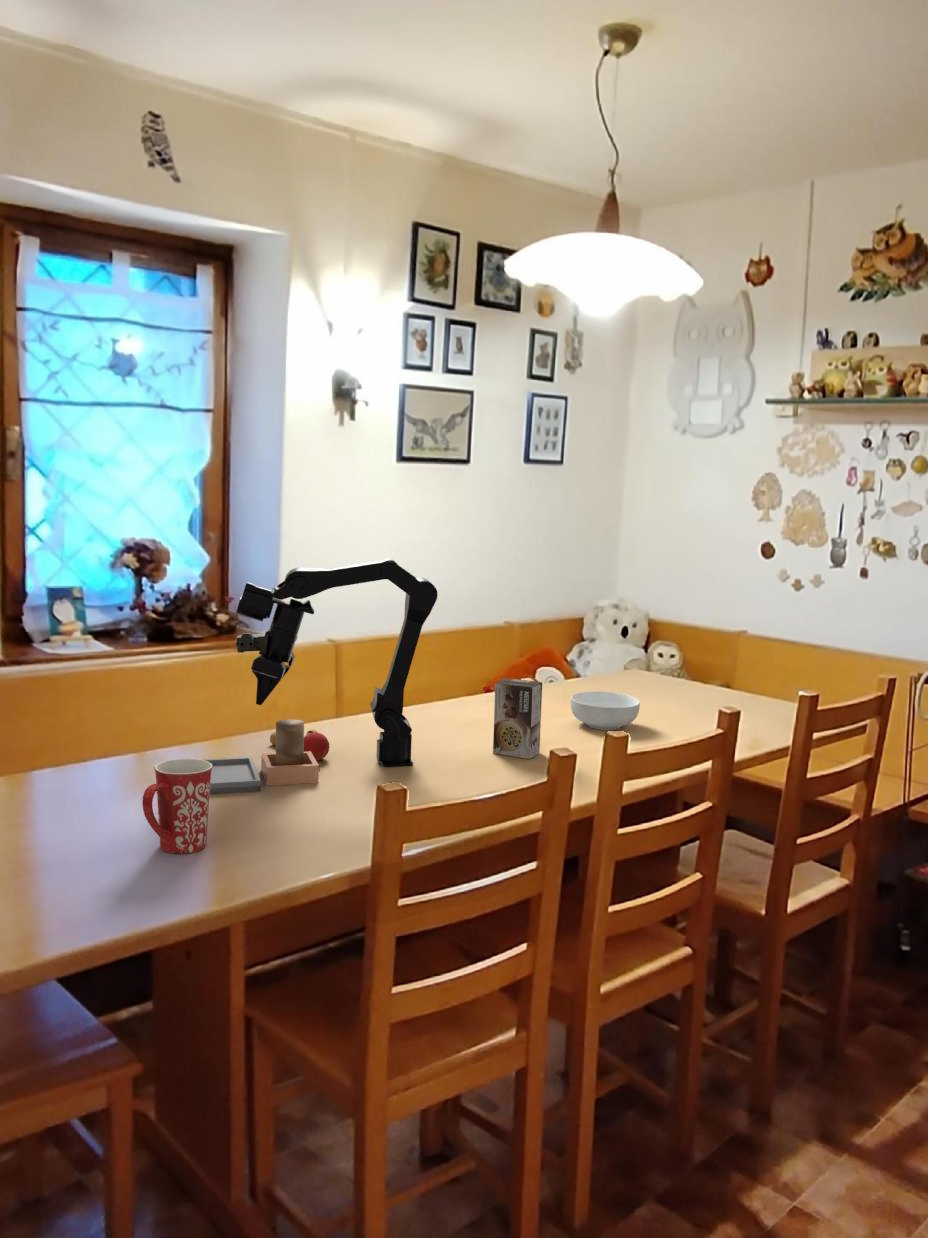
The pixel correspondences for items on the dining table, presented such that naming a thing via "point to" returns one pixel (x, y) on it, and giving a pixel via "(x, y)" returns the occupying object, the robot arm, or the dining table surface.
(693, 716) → the dining table surface
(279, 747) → the walnut peg
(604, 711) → the cereal bowl
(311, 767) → the pink rectangular frame
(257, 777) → the grey tray
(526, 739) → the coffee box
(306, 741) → the kendama
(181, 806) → the mug
